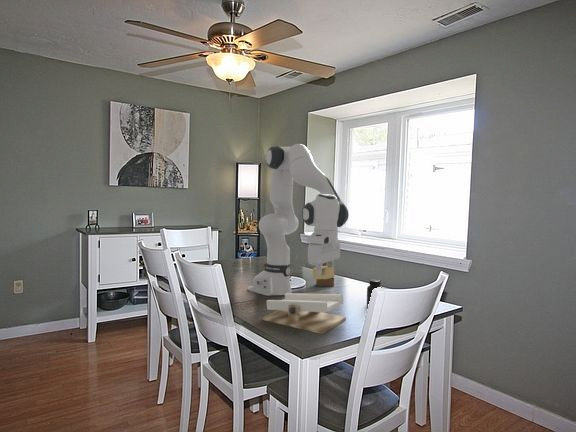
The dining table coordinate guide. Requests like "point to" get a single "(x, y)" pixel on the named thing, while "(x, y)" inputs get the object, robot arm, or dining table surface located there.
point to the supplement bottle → (373, 284)
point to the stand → (305, 319)
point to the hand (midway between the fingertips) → (324, 273)
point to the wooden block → (325, 280)
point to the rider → (324, 272)
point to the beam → (307, 302)
